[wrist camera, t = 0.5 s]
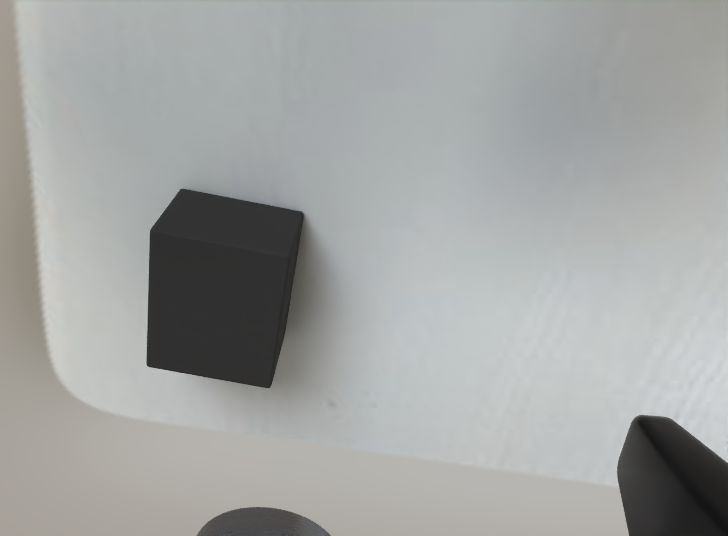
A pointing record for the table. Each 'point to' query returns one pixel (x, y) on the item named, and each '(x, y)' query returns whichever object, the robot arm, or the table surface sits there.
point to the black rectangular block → (220, 287)
